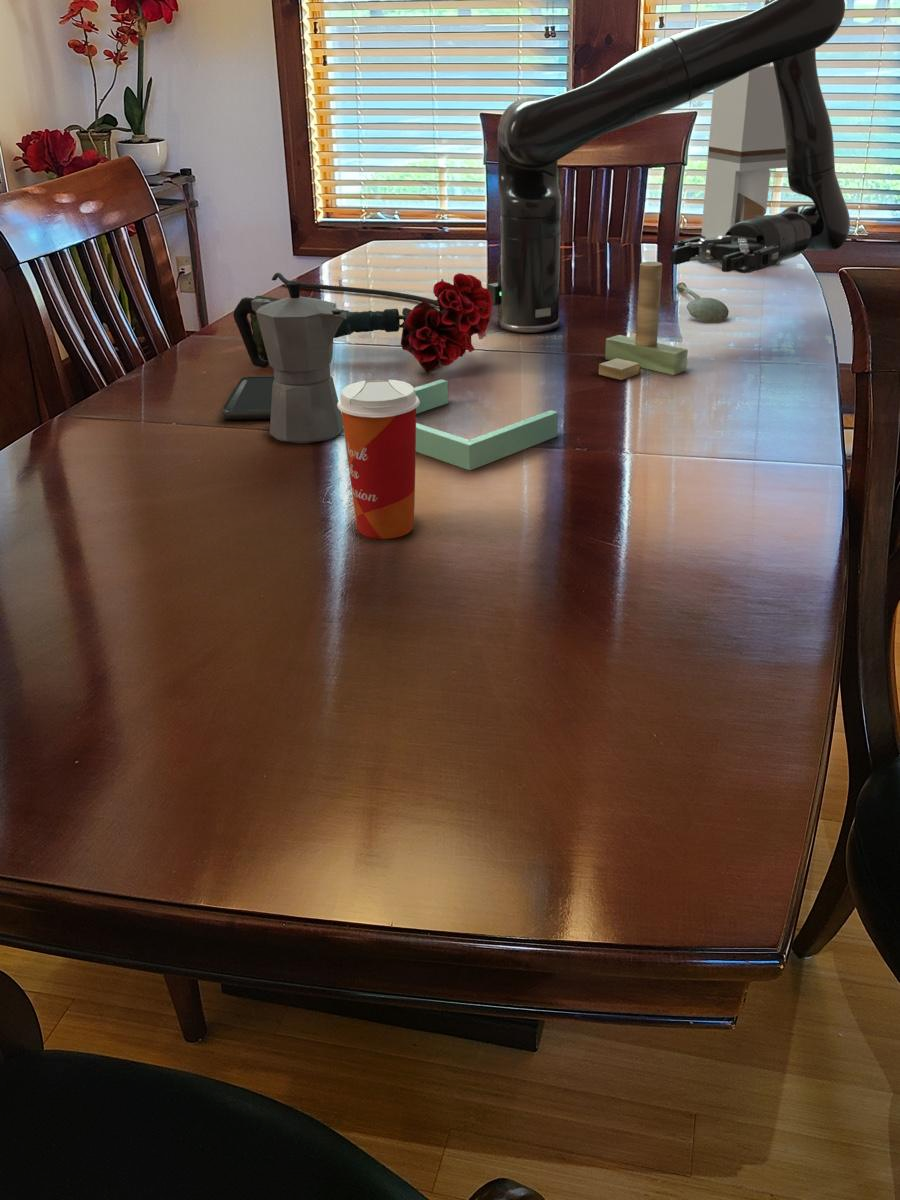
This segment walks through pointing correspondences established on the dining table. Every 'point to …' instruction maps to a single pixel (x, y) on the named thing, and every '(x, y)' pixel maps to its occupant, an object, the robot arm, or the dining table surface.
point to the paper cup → (381, 454)
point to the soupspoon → (704, 306)
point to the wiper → (648, 330)
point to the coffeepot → (296, 362)
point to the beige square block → (619, 369)
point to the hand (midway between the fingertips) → (698, 260)
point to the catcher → (484, 446)
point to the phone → (250, 399)
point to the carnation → (423, 322)
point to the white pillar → (742, 150)
